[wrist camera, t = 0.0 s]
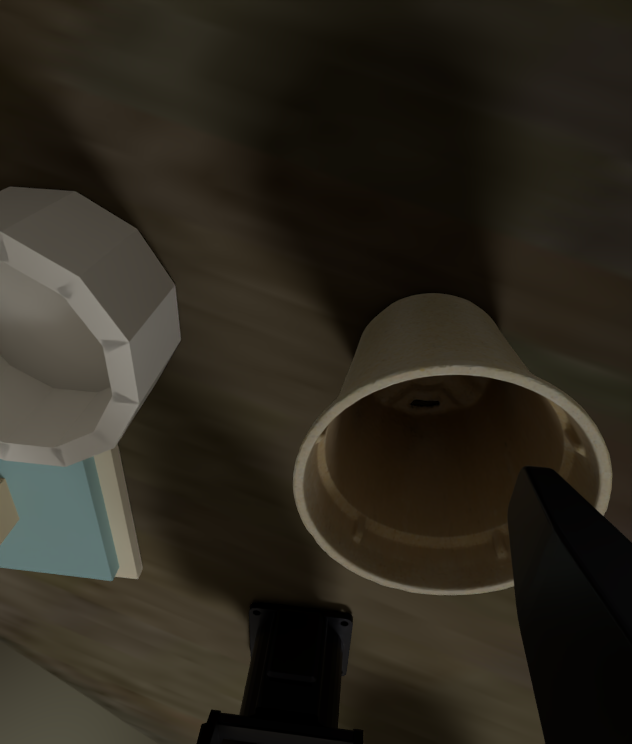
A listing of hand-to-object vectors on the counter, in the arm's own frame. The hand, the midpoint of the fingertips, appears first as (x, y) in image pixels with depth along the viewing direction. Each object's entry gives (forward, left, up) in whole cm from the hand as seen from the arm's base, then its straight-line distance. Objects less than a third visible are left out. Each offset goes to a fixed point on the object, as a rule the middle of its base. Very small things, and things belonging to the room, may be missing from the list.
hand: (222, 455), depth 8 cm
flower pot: (-6, -5, -15) cm, 17 cm away
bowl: (-5, +11, -15) cm, 19 cm away
